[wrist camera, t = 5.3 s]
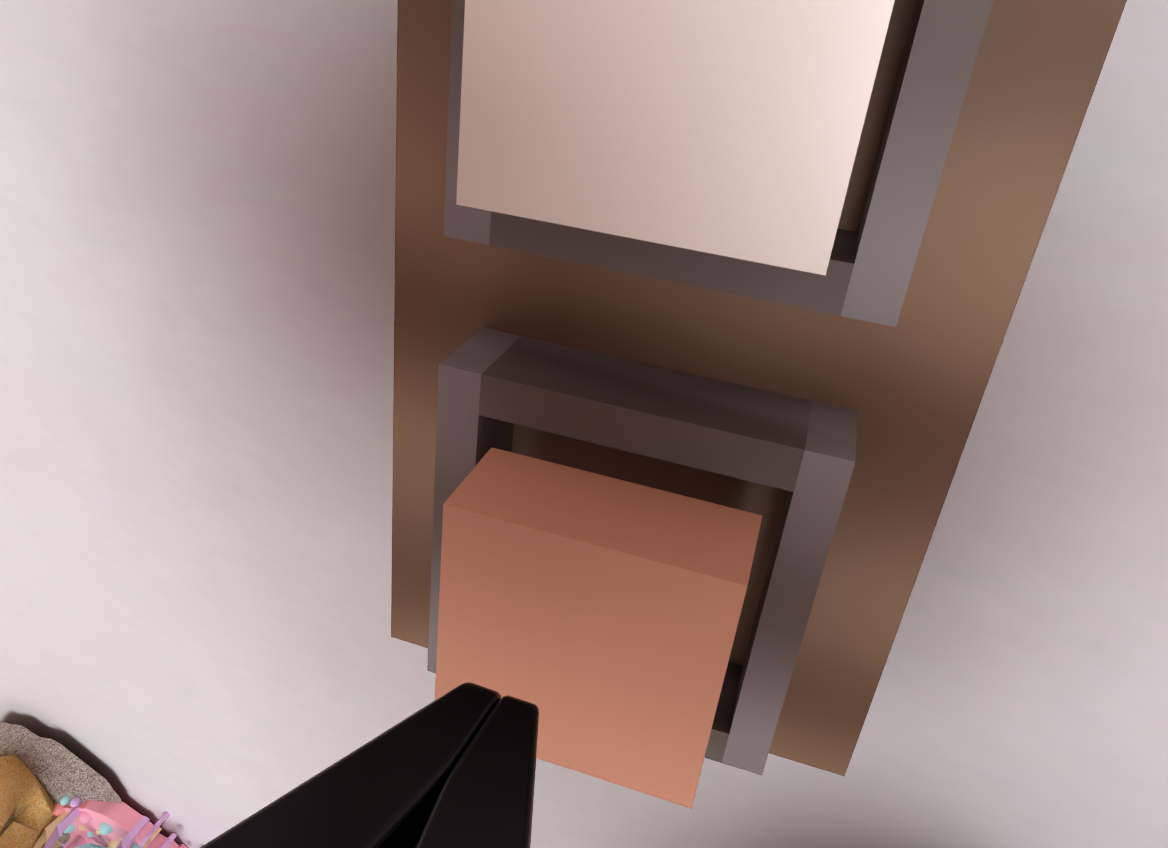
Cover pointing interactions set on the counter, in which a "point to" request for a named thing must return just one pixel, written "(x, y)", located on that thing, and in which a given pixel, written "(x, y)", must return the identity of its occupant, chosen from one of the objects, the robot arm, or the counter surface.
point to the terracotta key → (594, 613)
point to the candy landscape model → (63, 800)
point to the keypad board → (746, 348)
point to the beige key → (671, 118)
